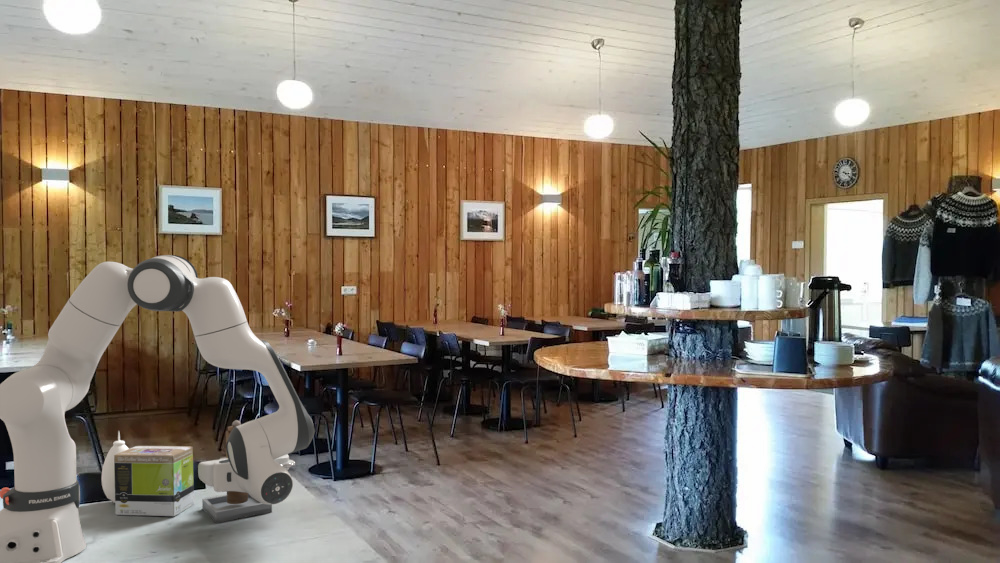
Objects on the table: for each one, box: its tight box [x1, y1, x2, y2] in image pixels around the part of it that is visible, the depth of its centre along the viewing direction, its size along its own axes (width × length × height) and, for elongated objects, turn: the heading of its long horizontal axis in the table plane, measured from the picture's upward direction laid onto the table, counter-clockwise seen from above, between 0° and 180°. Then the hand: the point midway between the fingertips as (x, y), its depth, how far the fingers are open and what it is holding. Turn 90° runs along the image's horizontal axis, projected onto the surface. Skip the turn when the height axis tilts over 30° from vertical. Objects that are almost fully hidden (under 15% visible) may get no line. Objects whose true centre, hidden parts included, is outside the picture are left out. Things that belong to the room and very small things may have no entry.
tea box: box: [114, 445, 195, 517], centre depth 186 cm, size 15×10×15 cm
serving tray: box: [202, 494, 273, 524], centre depth 186 cm, size 13×12×2 cm
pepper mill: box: [225, 419, 248, 504], centre depth 185 cm, size 5×5×20 cm
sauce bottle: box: [101, 430, 130, 503], centre depth 192 cm, size 8×8×18 cm
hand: (235, 458), depth 186 cm, fingers closed on pepper mill, 5 cm apart
